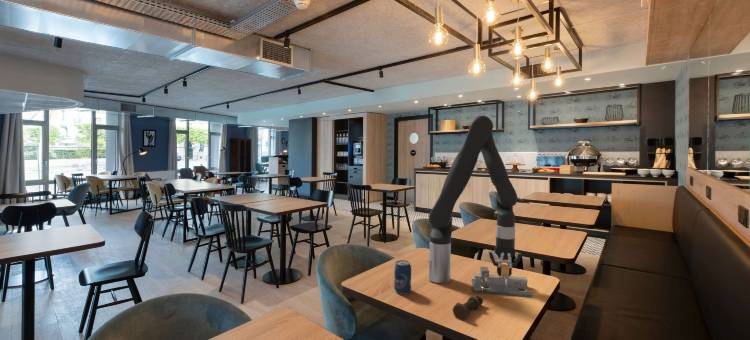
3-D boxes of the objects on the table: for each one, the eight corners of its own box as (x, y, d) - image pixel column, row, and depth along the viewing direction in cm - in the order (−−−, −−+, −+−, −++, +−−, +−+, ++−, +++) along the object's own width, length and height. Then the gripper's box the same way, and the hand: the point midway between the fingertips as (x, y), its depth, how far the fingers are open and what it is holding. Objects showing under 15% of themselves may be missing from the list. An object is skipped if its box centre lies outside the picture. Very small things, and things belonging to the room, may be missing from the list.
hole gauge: (474, 292, 138) (474, 275, 138) (471, 280, 150) (472, 265, 150) (531, 297, 134) (532, 280, 134) (524, 284, 146) (524, 268, 146)
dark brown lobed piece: (481, 310, 128) (460, 323, 117) (470, 299, 131) (450, 312, 120) (489, 299, 126) (468, 312, 115) (478, 289, 128) (457, 301, 118)
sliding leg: (502, 286, 140) (503, 269, 139) (499, 278, 147) (499, 262, 147) (510, 286, 139) (510, 269, 139) (506, 279, 147) (506, 263, 146)
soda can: (391, 293, 138) (392, 264, 137) (397, 286, 144) (397, 258, 143) (408, 296, 135) (408, 266, 134) (413, 289, 142) (413, 261, 141)
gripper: (489, 237, 141) (488, 277, 142) (525, 239, 138) (523, 280, 139) (486, 232, 148) (485, 271, 149) (520, 234, 145) (519, 273, 147)
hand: (504, 275), depth 144 cm, fingers closed on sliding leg, 3 cm apart
